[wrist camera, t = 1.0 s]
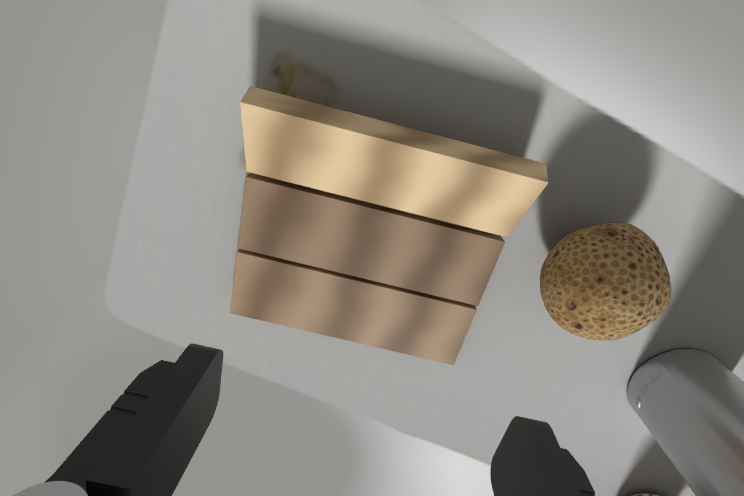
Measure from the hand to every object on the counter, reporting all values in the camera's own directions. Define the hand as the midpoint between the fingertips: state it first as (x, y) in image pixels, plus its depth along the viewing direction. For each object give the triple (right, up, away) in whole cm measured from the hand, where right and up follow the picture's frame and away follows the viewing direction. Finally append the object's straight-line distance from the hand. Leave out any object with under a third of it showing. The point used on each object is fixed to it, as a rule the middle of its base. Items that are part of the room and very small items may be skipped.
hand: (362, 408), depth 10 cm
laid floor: (-1, +2, +27) cm, 27 cm away
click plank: (+2, +11, +21) cm, 24 cm away
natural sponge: (+18, +4, +26) cm, 32 cm away
